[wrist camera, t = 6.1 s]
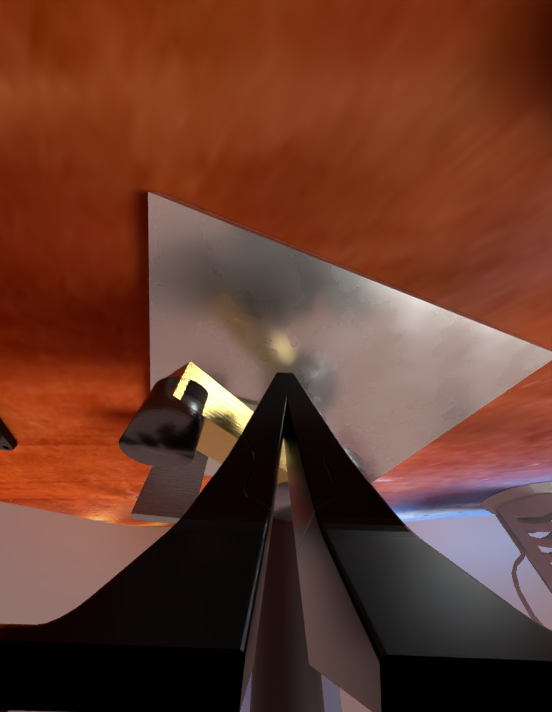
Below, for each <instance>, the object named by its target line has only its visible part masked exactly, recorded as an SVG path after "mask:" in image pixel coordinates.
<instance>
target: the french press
mask: <svg viewBox="0 0 552 712" xmlns="http://www.w3.org/2000/svg"><path fill="white" fill-rule="evenodd" d="M481 506H482V508H483V509H485V510H487V511H489V512H491V513H493V514H496V517H497V518H498V520H499V521H500V523H501V524H502V526H503V527H504V528H505V530H506V531H507V533H508V535H509V536H510V537H511V539H512V540H513V542H514V543H515V545H516V546H517V548H518V549H519V551H520V553H521V555H520V556H519V557H518V558H517V559H516V561H515V563H514V565H513V569H512V578H513V582H514V586H515V588H516V591H517V593H518V595H519V597H520V599H521V601H522V603H523V605H524V606H525V608H526V610H527V612H528V614H529V615H530V617H531V618H532V619H533V621H535V622H537V623H539V624H541V625H542V623H541V622H540V621H539V620H538V619H537V617H535V615H534V613H533V612H532V610H531V608H530V606H529V605H528V603H527V601H526V599H525V598H524V596H523V594H522V593H521V590H520V587H519V583H518V579H517V575H516V570H517V566H518V565H519V564H520V562H521V561H522V560H523V559H524V557H525V555H526V557H527V558H528V560H529V561H530V562H531V564H532V565H533V567H534V568H535V570H536V571H537V573H538V574H539V575H540V577H541V578H542V580H543V581H544V583H545V584H546V585H547V587H548V589H549V590H550V591H551V593H552V565H551V564H550V562H552V552H550V553H544V552H541V550H540V549H539V548H538V546H542V547H550V548H552V521H551V520H552V481H549V482H541V483H533V484H527V485H523V486H519V487H514V488H510V489H507V490H504V491H502V492H499V493H496V494H493V495H492V496H490V497H488V498H487V499H485V500H483V502H482V504H481ZM550 521H551V522H550ZM535 532H550V533H549V534H548V535H547V536H546V537H543V538H535V537H531V536H530V535H529V534H528V533H535ZM542 626H543V625H542Z"/></svg>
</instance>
